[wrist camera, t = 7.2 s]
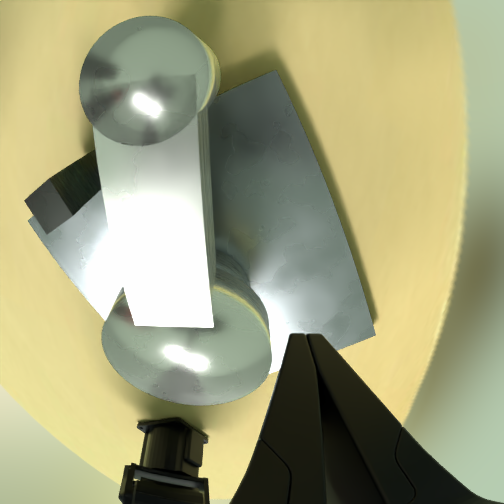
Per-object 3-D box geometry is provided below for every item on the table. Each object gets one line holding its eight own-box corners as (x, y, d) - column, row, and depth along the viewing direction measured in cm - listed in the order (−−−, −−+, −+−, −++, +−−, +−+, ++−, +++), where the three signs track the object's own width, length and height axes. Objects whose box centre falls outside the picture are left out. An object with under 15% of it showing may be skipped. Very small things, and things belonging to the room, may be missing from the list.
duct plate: (182, 387, 28) (174, 441, 23) (14, 180, 17) (-41, 219, 12) (372, 326, 24) (395, 384, 19) (249, 23, 13) (252, -5, 8)
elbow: (265, 354, 22) (269, 412, 17) (141, 352, 21) (126, 405, 17) (273, 30, 11) (286, 7, 7) (83, 51, 11) (25, 49, 7)
